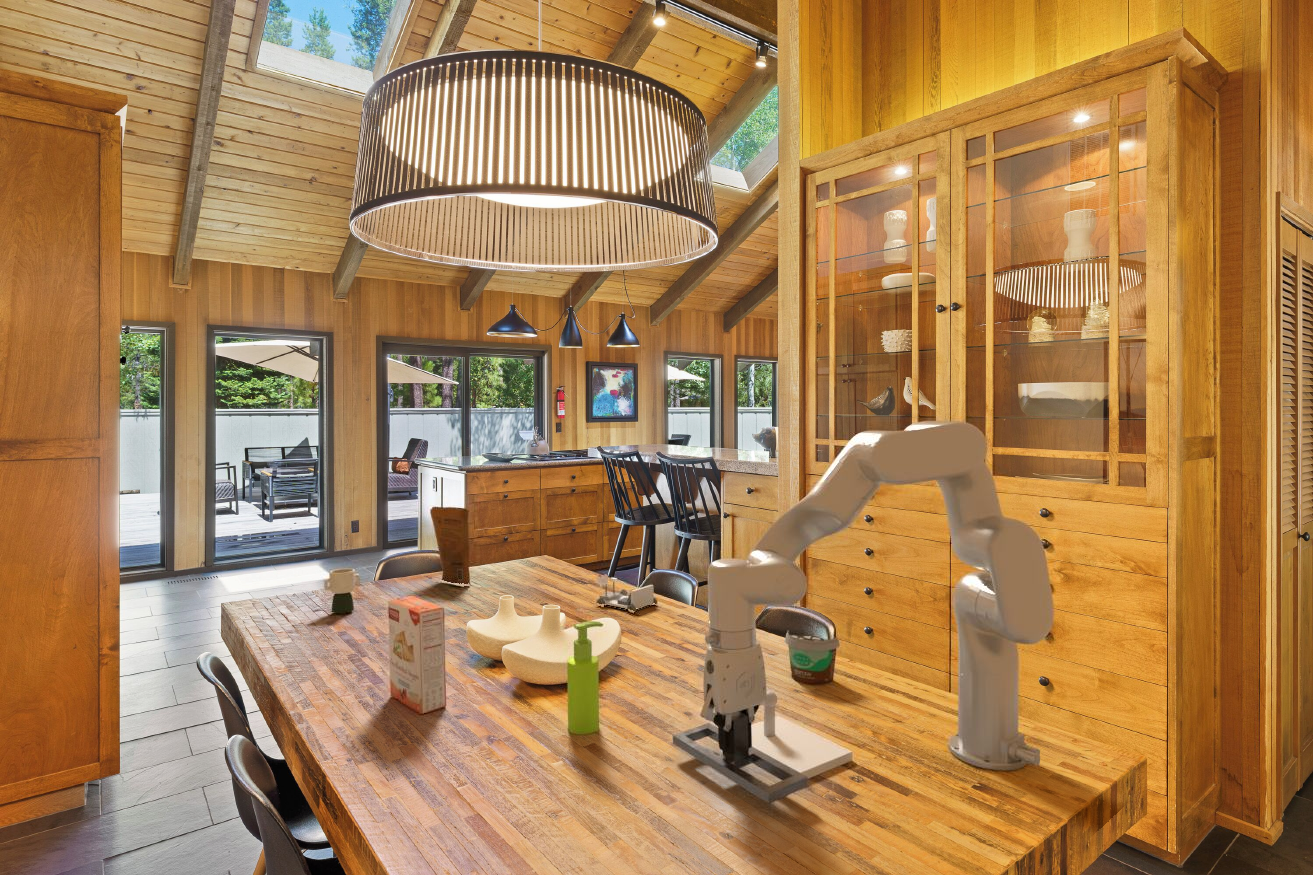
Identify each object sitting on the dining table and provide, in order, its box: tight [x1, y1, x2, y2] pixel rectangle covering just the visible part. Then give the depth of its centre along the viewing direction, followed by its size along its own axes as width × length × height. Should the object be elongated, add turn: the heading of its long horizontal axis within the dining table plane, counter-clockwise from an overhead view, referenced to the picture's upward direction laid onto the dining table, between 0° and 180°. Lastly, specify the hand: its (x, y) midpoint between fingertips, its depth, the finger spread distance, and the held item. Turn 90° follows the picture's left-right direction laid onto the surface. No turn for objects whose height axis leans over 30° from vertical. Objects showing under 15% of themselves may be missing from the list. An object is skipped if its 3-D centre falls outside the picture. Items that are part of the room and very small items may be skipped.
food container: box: [784, 629, 840, 686], centre depth 158 cm, size 12×6×10 cm, turn 62°
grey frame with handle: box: [672, 712, 809, 805], centre depth 116 cm, size 24×8×8 cm, turn 34°
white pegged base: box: [751, 690, 853, 780], centre depth 125 cm, size 18×14×9 cm
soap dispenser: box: [566, 620, 604, 736], centre depth 135 cm, size 6×7×20 cm
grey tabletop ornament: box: [596, 573, 658, 612], centre depth 224 cm, size 18×10×12 cm
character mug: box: [323, 568, 361, 614], centre depth 217 cm, size 11×7×13 cm, turn 138°
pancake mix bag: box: [429, 506, 471, 585], centre depth 253 cm, size 7×19×28 cm, turn 52°
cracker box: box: [387, 595, 447, 715], centre depth 148 cm, size 14×6×21 cm, turn 45°
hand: (735, 746), depth 116 cm, fingers closed on grey frame with handle, 3 cm apart
